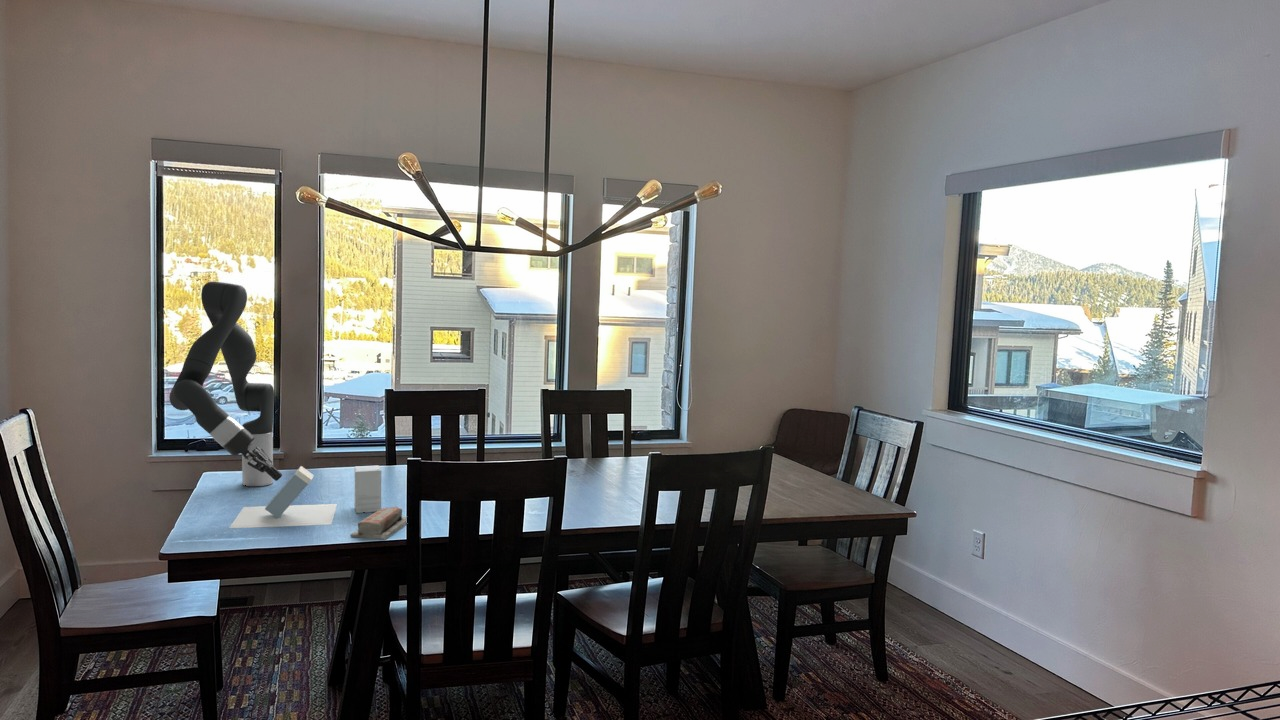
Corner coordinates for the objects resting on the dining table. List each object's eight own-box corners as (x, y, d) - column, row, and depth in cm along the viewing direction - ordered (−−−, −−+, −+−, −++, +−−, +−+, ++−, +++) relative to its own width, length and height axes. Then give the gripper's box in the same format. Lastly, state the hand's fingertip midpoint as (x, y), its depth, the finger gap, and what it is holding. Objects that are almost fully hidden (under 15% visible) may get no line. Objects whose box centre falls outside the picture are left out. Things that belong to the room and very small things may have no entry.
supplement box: (379, 505, 257) (380, 464, 256) (381, 512, 250) (381, 470, 249) (354, 507, 254) (354, 465, 253) (355, 513, 247) (355, 471, 246)
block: (268, 503, 243) (301, 465, 244) (281, 512, 244) (313, 475, 245) (264, 509, 237) (298, 470, 238) (278, 518, 238) (311, 479, 240)
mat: (243, 508, 248) (243, 507, 248) (337, 505, 256) (337, 503, 255) (228, 529, 227) (228, 528, 227) (331, 525, 234) (331, 524, 234)
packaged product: (386, 523, 224) (350, 521, 225) (386, 541, 224) (350, 538, 225) (411, 505, 242) (377, 503, 242) (411, 522, 242) (377, 520, 243)
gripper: (238, 430, 230) (286, 474, 234) (247, 422, 242) (292, 463, 247) (216, 450, 229) (265, 493, 233) (226, 441, 242) (273, 482, 246)
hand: (279, 478), depth 240 cm, fingers closed
